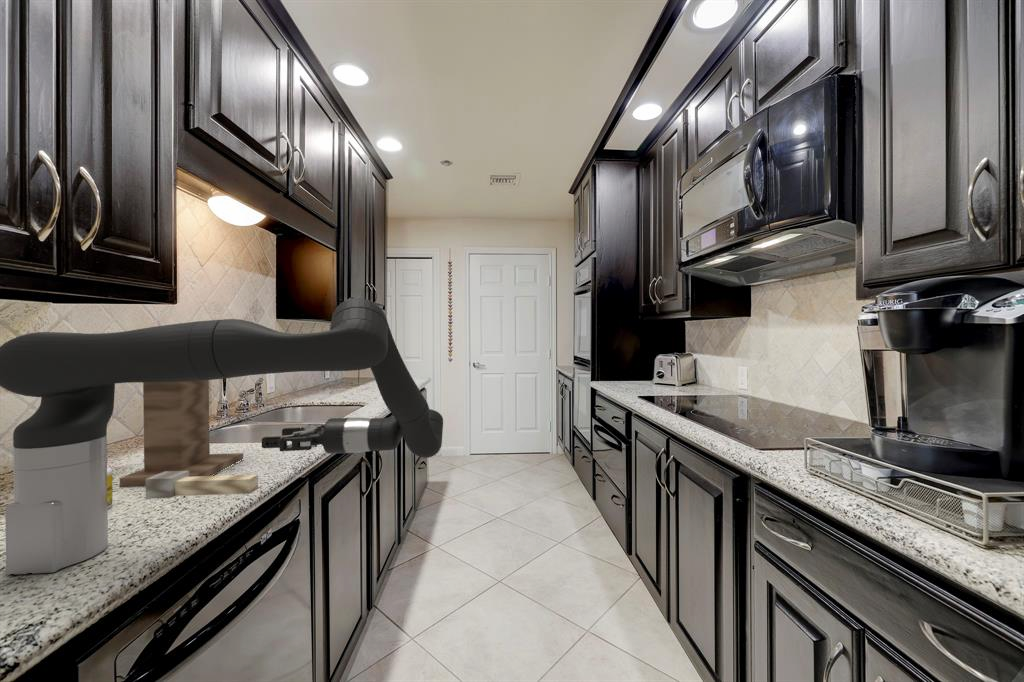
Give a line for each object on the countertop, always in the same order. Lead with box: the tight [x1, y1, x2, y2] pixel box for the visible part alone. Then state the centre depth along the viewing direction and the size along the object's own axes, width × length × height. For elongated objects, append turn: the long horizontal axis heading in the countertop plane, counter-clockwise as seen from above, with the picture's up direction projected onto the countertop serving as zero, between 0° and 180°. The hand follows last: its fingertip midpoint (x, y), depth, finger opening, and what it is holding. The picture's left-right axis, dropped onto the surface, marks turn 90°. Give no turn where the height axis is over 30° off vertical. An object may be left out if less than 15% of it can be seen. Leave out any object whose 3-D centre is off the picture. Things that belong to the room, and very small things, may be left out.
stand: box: [119, 380, 244, 488], centre depth 99 cm, size 18×16×32 cm
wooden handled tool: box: [145, 471, 259, 499], centre depth 86 cm, size 20×5×4 cm, turn 93°
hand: (273, 437), depth 87 cm, fingers open, 8 cm apart
